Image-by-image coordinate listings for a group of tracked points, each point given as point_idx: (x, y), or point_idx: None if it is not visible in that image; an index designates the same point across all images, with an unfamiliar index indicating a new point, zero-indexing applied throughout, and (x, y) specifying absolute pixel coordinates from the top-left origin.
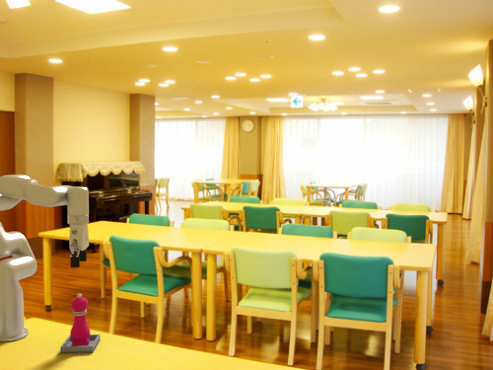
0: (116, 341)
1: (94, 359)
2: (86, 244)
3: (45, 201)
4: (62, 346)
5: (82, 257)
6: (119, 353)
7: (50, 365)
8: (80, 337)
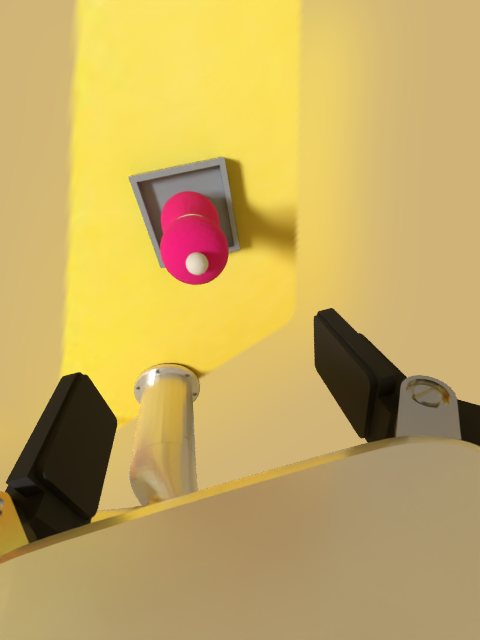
0: (121, 108)
1: (262, 130)
2: (187, 622)
3: None
4: (235, 246)
5: (90, 426)
6: (213, 51)
7: (296, 234)
8: (215, 208)
